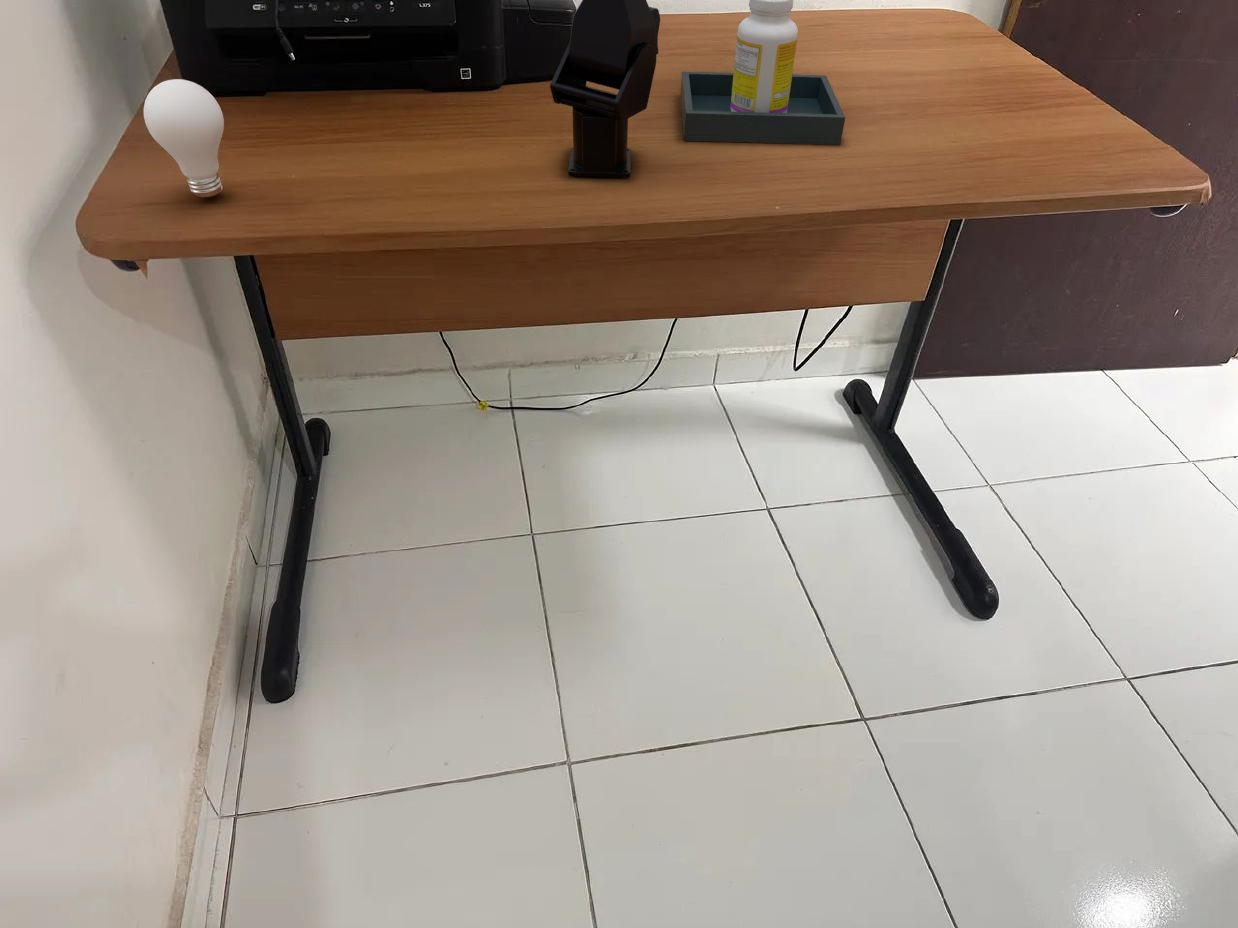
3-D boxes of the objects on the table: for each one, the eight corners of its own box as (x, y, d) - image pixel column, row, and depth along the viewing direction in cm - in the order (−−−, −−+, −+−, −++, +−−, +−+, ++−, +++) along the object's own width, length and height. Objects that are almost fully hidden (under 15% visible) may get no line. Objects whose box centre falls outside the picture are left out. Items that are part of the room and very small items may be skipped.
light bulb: (253, 183, 87) (221, 69, 80) (233, 213, 83) (198, 94, 75) (186, 182, 87) (148, 68, 80) (162, 212, 82) (120, 94, 75)
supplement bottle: (785, 106, 104) (802, -12, 95) (787, 127, 99) (805, 5, 91) (729, 103, 105) (741, -15, 96) (728, 124, 100) (741, 2, 91)
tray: (840, 145, 97) (845, 117, 95) (684, 141, 97) (685, 113, 95) (821, 101, 107) (826, 75, 105) (680, 97, 108) (681, 71, 105)
